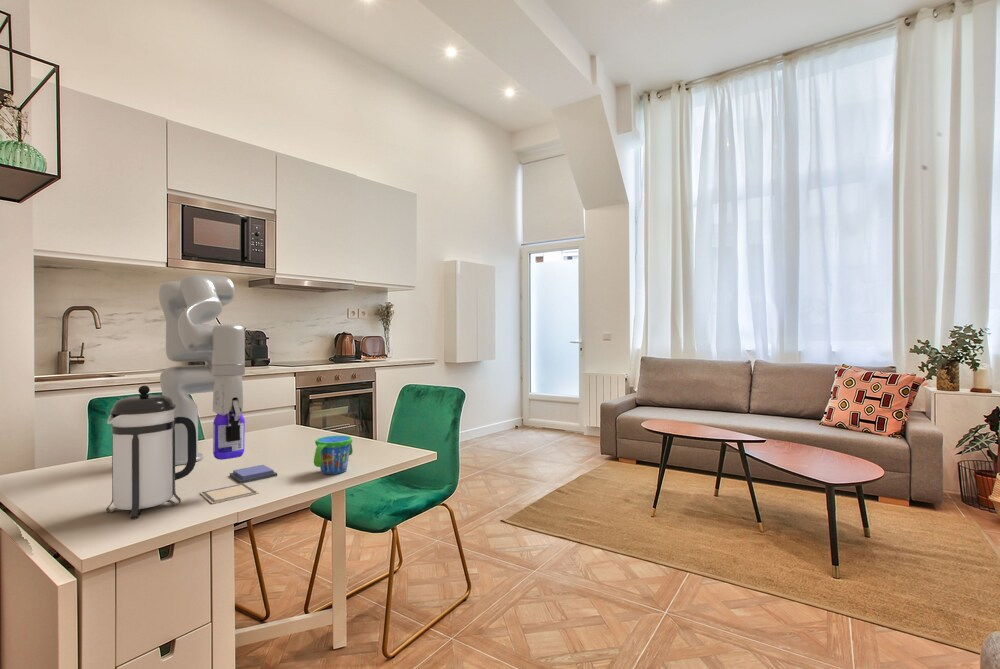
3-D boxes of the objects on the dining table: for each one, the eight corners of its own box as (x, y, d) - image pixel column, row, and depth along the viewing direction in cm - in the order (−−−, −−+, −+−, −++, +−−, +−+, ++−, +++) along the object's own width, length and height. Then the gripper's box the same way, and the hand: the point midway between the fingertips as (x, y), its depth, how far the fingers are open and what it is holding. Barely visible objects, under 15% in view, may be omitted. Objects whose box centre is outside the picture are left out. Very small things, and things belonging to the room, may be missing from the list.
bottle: (240, 453, 132) (240, 390, 132) (247, 456, 128) (247, 391, 128) (210, 458, 127) (210, 392, 127) (216, 462, 123) (216, 394, 123)
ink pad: (229, 475, 143) (229, 470, 143) (264, 469, 150) (264, 463, 150) (240, 483, 136) (240, 477, 136) (277, 475, 143) (277, 470, 143)
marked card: (199, 493, 127) (199, 492, 127) (244, 484, 135) (244, 482, 135) (212, 504, 120) (212, 502, 120) (258, 493, 128) (258, 491, 128)
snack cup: (339, 463, 157) (339, 432, 157) (364, 467, 152) (364, 435, 152) (301, 476, 143) (301, 442, 143) (328, 481, 138) (327, 445, 138)
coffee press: (173, 515, 112) (173, 387, 112) (91, 523, 108) (91, 390, 107) (197, 491, 129) (196, 380, 129) (127, 497, 124) (126, 382, 124)
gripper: (203, 370, 131) (204, 436, 131) (223, 373, 119) (223, 446, 119) (233, 368, 136) (234, 432, 136) (255, 372, 124) (255, 441, 124)
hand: (229, 438), depth 127 cm, fingers closed on bottle, 5 cm apart
